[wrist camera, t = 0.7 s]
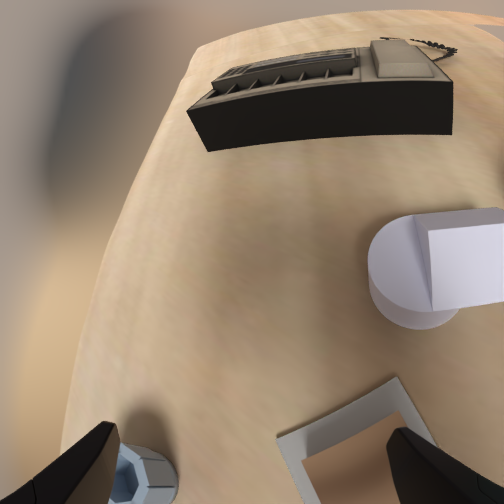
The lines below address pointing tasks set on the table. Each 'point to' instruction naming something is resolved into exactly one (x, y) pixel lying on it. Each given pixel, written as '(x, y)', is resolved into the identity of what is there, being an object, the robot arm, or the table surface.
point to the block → (356, 467)
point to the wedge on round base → (437, 265)
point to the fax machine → (328, 97)
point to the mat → (346, 430)
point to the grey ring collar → (143, 477)
